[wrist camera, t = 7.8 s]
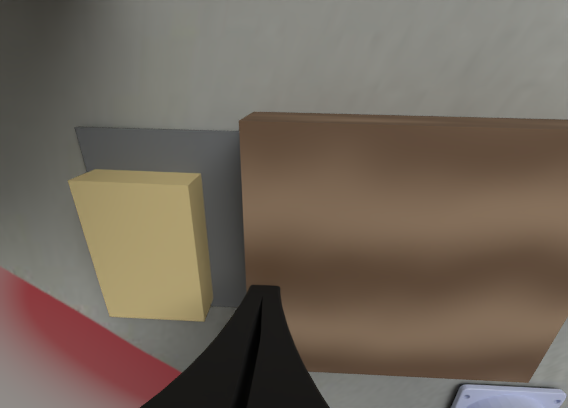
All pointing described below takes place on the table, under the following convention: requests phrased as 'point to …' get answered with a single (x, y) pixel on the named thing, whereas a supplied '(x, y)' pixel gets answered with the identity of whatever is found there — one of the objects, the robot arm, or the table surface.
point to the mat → (187, 159)
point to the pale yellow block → (147, 242)
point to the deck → (410, 239)
